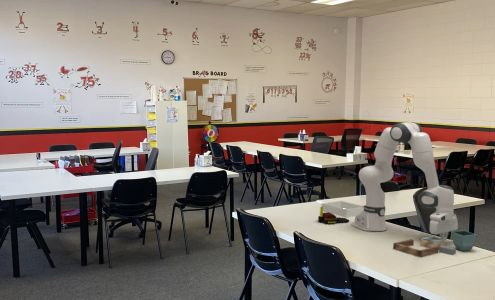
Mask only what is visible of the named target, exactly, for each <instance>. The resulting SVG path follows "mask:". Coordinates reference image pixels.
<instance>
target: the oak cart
mask: <svg viewBox="0 0 495 300" xmlns="http://www.w3.org/2000/svg"><path fill="white" fill-rule="evenodd" d="M442 245H443V246H446V240H444V239H441V237H435V236H430V235H427V236H424V237H421V239H420V244H419V246H420V247H423V248H426V249H427V248H431V247H435V246H437V247H440V246H442Z"/></svg>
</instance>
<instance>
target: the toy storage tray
mask: <svg viewBox="0 0 495 300" xmlns="http://www.w3.org/2000/svg"><path fill="white" fill-rule="evenodd" d="M364 206H365V205H360V204H358V203H357V204H356V203H352V202H347V201H344V200H337V201H330V202H321V207H323V212H324V213H326V212H329V213H332V214H334V215H335V216H338V217H339V216H340V217H342V218H346V219H348V218H351V217H352V218H353V217H356V215H358V214H359V213H361V212H362V211H363V210H364V208H362V207H364ZM343 208H346V209H343Z"/></svg>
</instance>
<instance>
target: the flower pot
mask: <svg viewBox="0 0 495 300" xmlns="http://www.w3.org/2000/svg"><path fill="white" fill-rule="evenodd" d="M476 237H477V234H475V233H472V232H469V231H467V230H454V231H451V238H452V239H451V240H452V244H453V246H454V248H456V250H459V251H461V252H466V251H471V250H472V249H473V247H474V246H475V244H476V243H475V242H476V239H477V238H476Z"/></svg>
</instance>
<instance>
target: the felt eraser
mask: <svg viewBox="0 0 495 300" xmlns="http://www.w3.org/2000/svg"><path fill="white" fill-rule="evenodd" d="M438 253H443V254H446V255H451V256H454V255H456V254H457V249H456V247H451V246H448V245H447V246H446V245H445V246H443V245H442V246H440V247H439V250H438Z"/></svg>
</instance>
